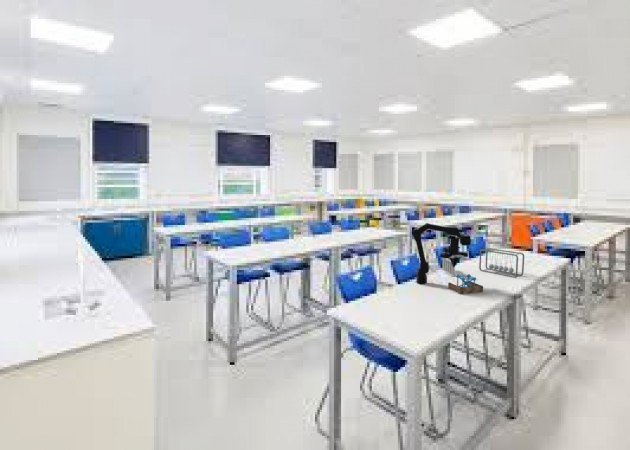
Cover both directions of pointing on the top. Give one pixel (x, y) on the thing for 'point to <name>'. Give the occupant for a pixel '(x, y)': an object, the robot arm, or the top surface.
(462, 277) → the molecular structure
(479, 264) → the newton's cradle
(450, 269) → the test tube rack
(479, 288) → the box
